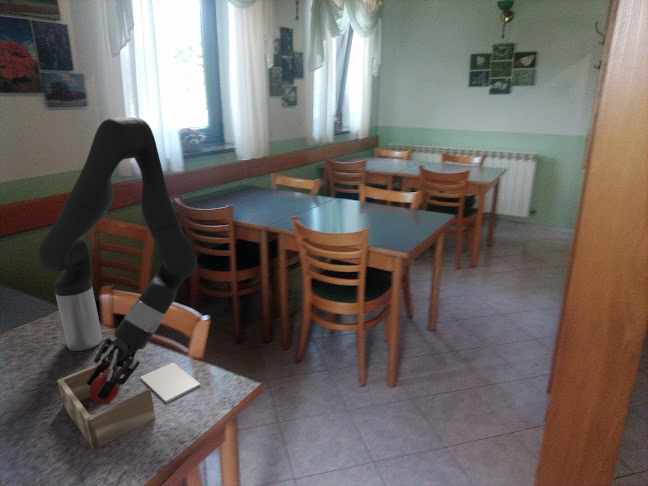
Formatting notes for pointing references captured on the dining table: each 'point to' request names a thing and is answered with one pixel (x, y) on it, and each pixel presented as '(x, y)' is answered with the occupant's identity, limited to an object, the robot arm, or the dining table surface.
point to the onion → (96, 387)
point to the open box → (110, 420)
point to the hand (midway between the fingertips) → (95, 391)
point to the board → (169, 382)
